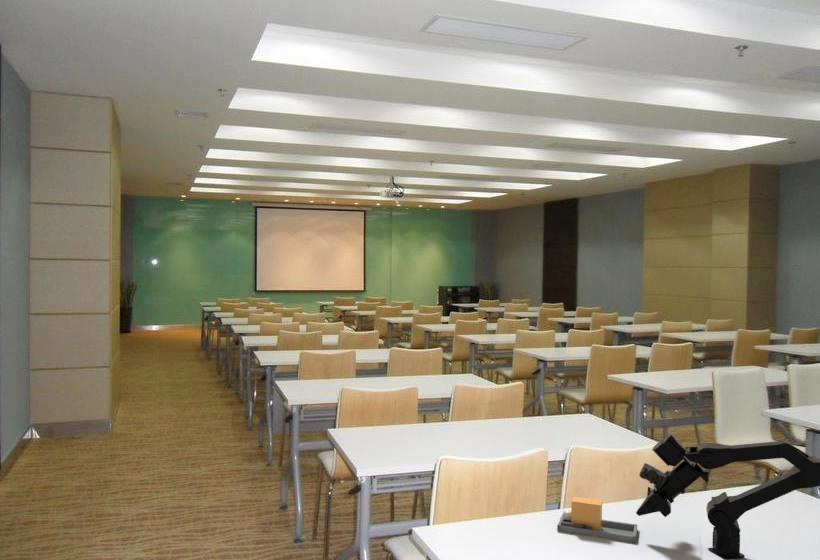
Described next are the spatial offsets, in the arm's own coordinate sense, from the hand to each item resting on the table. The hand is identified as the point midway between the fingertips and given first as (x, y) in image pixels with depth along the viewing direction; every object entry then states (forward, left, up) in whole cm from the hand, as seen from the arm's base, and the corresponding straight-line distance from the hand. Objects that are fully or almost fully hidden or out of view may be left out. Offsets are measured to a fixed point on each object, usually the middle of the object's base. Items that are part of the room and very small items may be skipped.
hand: (637, 514), depth 184 cm
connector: (+8, +11, -6) cm, 15 cm away
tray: (+6, +9, -7) cm, 13 cm away
